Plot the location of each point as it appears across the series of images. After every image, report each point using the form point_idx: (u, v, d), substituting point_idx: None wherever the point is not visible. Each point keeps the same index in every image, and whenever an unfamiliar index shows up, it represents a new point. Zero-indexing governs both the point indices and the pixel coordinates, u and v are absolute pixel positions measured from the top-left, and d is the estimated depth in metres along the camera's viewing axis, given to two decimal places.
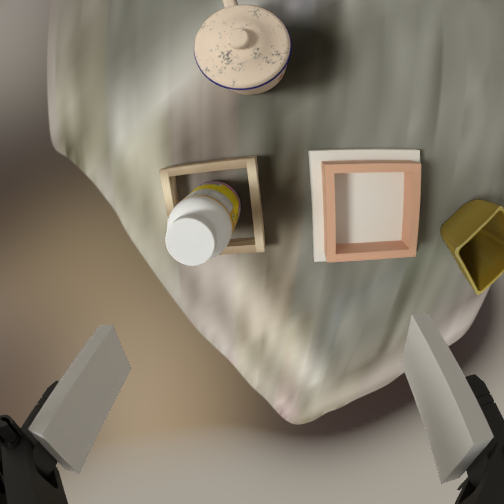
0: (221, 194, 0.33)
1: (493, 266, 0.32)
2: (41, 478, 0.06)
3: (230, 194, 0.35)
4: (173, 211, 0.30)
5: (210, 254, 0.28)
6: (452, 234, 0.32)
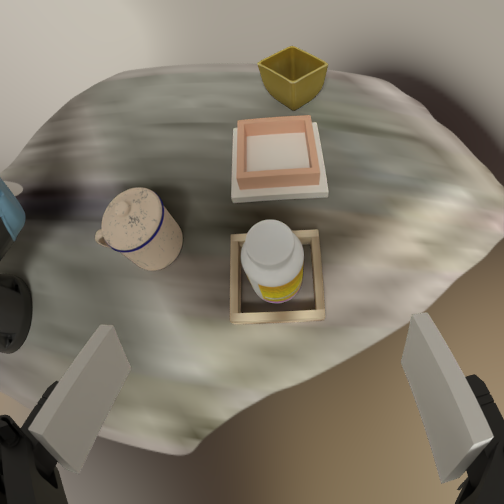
0: None
1: (308, 62, 0.47)
2: (41, 478, 0.06)
3: None
4: (250, 273, 0.32)
5: (282, 223, 0.30)
6: (287, 92, 0.46)
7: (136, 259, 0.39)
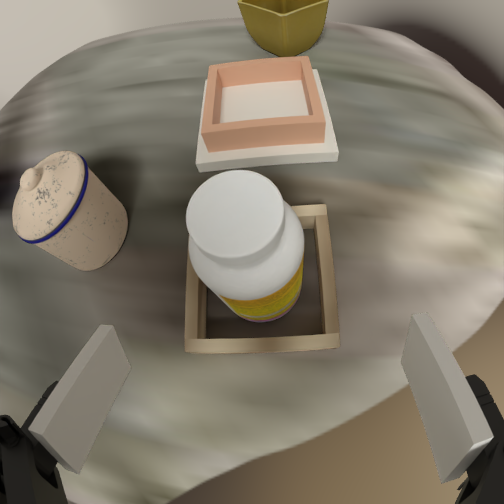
0: None
1: (303, 2, 0.32)
2: (41, 478, 0.06)
3: None
4: (202, 275, 0.17)
5: (259, 176, 0.15)
6: (277, 32, 0.31)
7: (56, 254, 0.24)
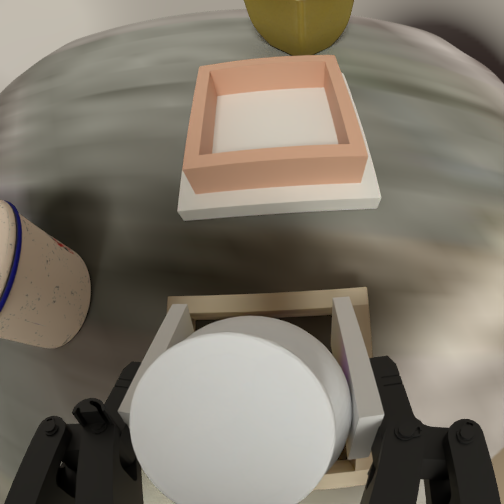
0: None
1: None
2: (123, 471, 0.07)
3: None
4: None
5: (284, 355, 0.06)
6: (291, 22, 0.23)
7: (2, 337, 0.16)
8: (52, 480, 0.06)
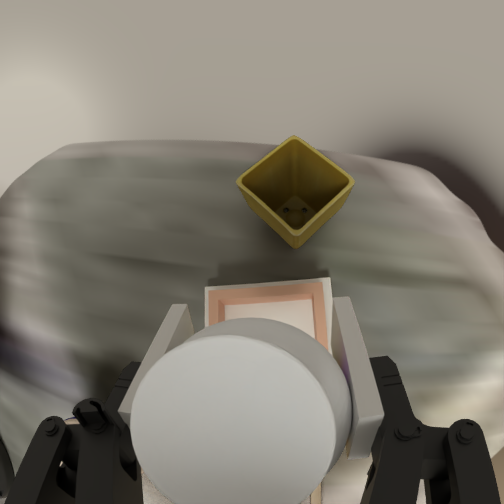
0: None
1: (320, 167, 0.32)
2: (123, 471, 0.07)
3: None
4: None
5: (284, 358, 0.06)
6: (286, 237, 0.31)
7: None
8: (52, 480, 0.06)
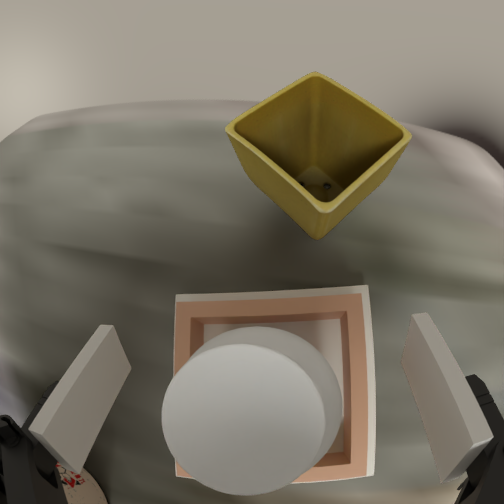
0: None
1: (354, 118, 0.20)
2: (41, 478, 0.06)
3: None
4: None
5: (285, 361, 0.08)
6: (305, 219, 0.19)
7: None
8: None
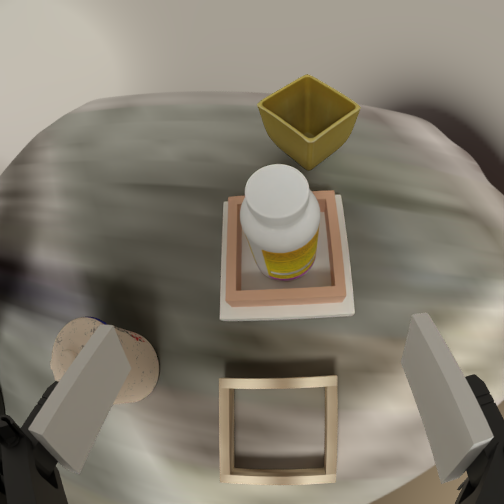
0: None
1: (330, 100, 0.34)
2: (41, 478, 0.06)
3: None
4: (251, 234, 0.24)
5: (292, 168, 0.23)
6: (301, 152, 0.33)
7: None
8: None
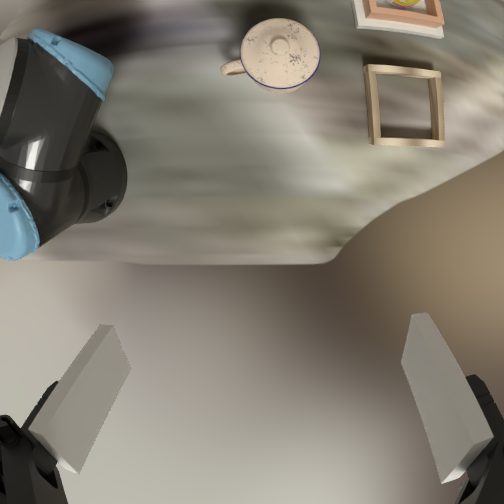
0: None
1: None
2: (41, 478, 0.06)
3: None
4: None
5: None
6: None
7: None
8: None
